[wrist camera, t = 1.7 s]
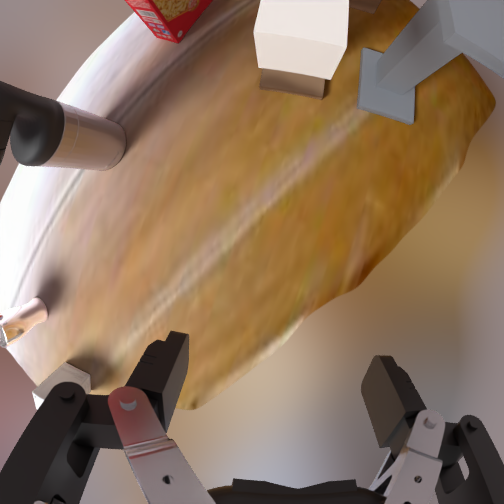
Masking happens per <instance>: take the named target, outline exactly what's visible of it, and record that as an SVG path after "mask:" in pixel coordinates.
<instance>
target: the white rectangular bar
mask: <svg viewBox="0 0 504 504" xmlns="http://www.w3.org/2000/svg"><path fill="white" fill-rule="evenodd" d="M348 14H349V0H261V2H260V6H259V10H258V14H257V19H256V23H255V27H254V39H255V46H256V53H257V60H258V67H259V68H265V69H273V70H280V71H287V72H293V73H299V74H304V75H309V76H315V77H319V78H324V79H329V80H331V78H332V76H333V74H334V72H335V70H336V68H337V66H338V64H339V62H340V60H341V58H342V56H343V54H344V52H345V50H346V48H347V34H348Z"/></svg>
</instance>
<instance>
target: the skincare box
mask: <svg viewBox="0 0 504 504" xmlns="http://www.w3.org/2000/svg"><path fill="white" fill-rule="evenodd" d="M61 382H75V383H77V384H79V385H81V386H82V387H83V389H84V390H85V393H86V394H89V393H90V392H91V382H90V374H88V373H86V372H84V371H81V370H79V369H77V368H75V367H74V366H72V365H70V364H68V363H66V362H64V363H63V364H62V365H61V366H60V367H59V368H58V369H57V370H55V371H54V372H53V373H52V374H51V375H50V376H49V377H48V378H47V379H46V380H44V381H43V382H42V383H41V384H40V385H39V386H38V387H37V388H36V389H35V390H33V391H32V393H33V397H34V400H35V404H36V408H37V409H39V407H40V406H41V404H42V403H43V401H44V400H45V398H46V397H47V395H48V394H49V392H50V391H51V389H52V388H53V387H54V386H55V385H57V384H59V383H61Z"/></svg>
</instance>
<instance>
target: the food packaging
mask: <svg viewBox="0 0 504 504" xmlns="http://www.w3.org/2000/svg"><path fill="white" fill-rule="evenodd" d="M125 1H126V2H127V3H128V5H129V6H130V7H131V8H132V9H133V10H134V11H135V13H136V14H137V15H138V16H139V17H140V18H141V20H142V21H143V22H144V23H145V24H146V25H147V27H148V28H149V29H150V30H151V31H152V32H153V34H154V35H155V36H156V37H157V38H160V39H164V40H168V41H172V42H175V43H179V42H180V41H181V40H182V38H183V37H184V36H185V34H186V33H187V32H188V30H189V29H190V28H191V26H192V25H193V24H194V23H195V21H196V20H197V19H198V18H199V16H200V15H201V14H202V13H203V11H204V10H205V9H206V8H207V7H208V5H209V4H210V3H211V2H212V1H213V0H125Z"/></svg>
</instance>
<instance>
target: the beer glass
mask: <svg viewBox="0 0 504 504" xmlns="http://www.w3.org/2000/svg"><path fill="white" fill-rule="evenodd" d="M47 317H48V312H47V308H46V306H45V304H44V302H43V301H42V300H41V299H39V298H37V297H35V298H33V299H32V300H31V301H30V302H28V303H27V304H25V305H22V306H18V307H14V308H10V309H7V310H5V311H3V312H2V313H0V346H1V347H3V348H6V347H7V346H9V345H11V344H13V343H15V342H17V341H18V340H20V339H21V338H22V337H23V336H25V335H26V334H27V333H28V332H29V331H30V329H31V328H32V327H34V326H35V325H36V324H38V323H41V322H44V321H46V320H47Z"/></svg>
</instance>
